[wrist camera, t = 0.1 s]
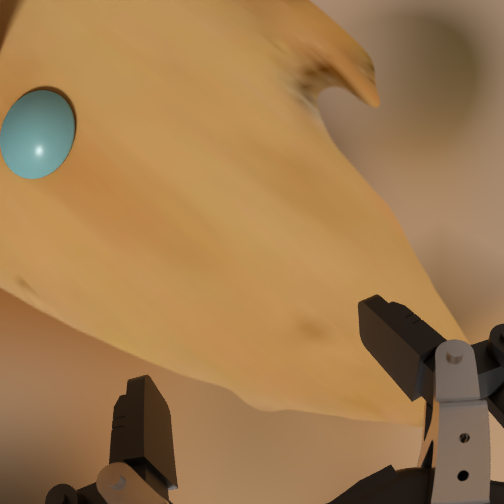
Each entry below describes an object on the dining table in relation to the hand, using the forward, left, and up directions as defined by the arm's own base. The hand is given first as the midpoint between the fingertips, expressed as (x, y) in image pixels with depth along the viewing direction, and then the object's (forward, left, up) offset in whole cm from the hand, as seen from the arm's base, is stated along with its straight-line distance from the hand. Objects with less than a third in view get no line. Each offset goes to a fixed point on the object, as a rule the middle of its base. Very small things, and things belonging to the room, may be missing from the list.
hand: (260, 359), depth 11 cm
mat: (-15, -17, -29) cm, 37 cm away
